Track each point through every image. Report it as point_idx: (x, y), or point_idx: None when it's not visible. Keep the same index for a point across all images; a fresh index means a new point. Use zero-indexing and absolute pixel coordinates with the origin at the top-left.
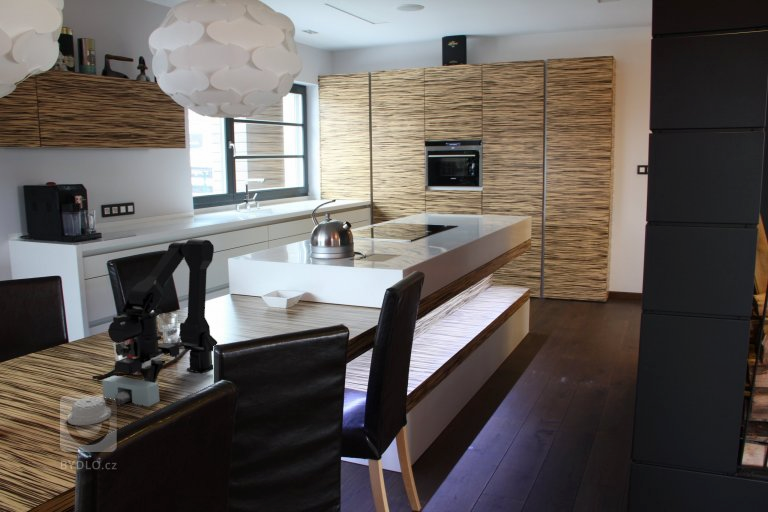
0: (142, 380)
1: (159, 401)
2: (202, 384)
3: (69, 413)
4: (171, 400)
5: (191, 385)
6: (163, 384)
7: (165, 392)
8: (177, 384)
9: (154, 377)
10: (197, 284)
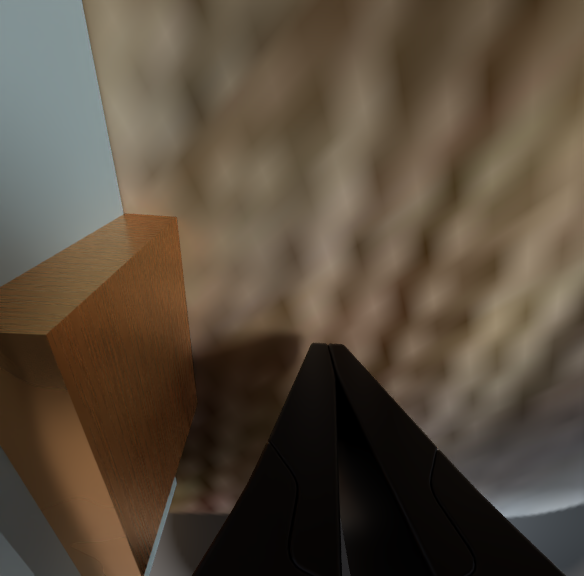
0: (124, 531)
1: (176, 483)
2: (515, 509)
3: None
4: (226, 512)
5: (494, 479)
6: (518, 321)
7: None
8: (516, 409)
9: (342, 520)
10: None
